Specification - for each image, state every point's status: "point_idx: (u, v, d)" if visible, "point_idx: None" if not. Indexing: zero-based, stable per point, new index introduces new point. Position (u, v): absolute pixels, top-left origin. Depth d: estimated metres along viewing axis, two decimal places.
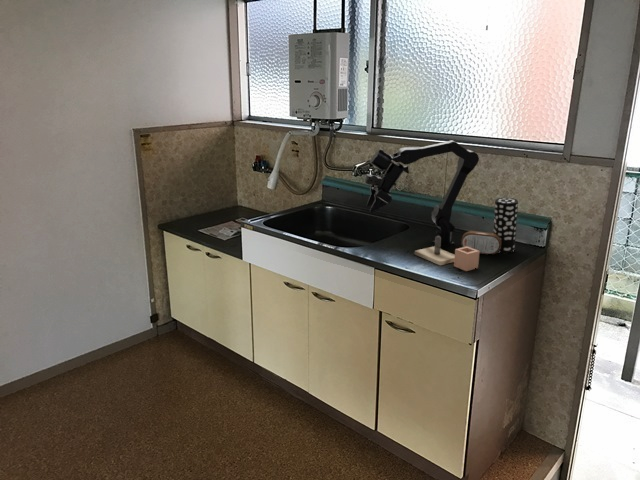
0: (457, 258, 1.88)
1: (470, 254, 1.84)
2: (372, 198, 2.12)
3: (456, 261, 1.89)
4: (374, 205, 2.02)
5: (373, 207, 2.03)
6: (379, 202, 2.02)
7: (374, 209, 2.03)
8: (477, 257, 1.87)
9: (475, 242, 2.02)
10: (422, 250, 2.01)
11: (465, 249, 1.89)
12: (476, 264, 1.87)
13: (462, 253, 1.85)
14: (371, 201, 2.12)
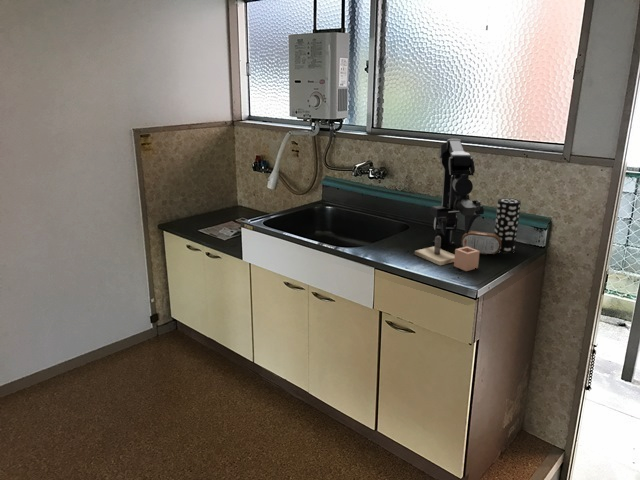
0: (457, 258, 1.88)
1: (470, 254, 1.84)
2: None
3: (456, 261, 1.89)
4: None
5: None
6: None
7: None
8: (477, 257, 1.87)
9: (475, 242, 2.02)
10: (422, 250, 2.01)
11: (465, 249, 1.89)
12: (476, 264, 1.87)
13: (462, 253, 1.85)
14: None
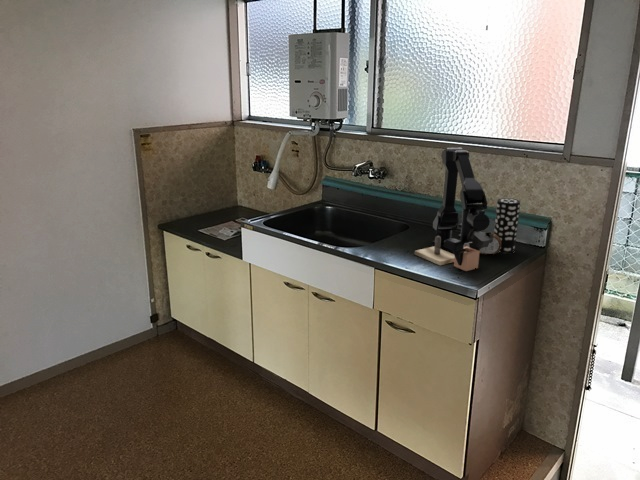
0: None
1: (470, 254, 1.84)
2: None
3: (456, 261, 1.89)
4: None
5: None
6: None
7: None
8: (477, 257, 1.87)
9: None
10: (422, 250, 2.01)
11: None
12: (476, 264, 1.87)
13: None
14: None
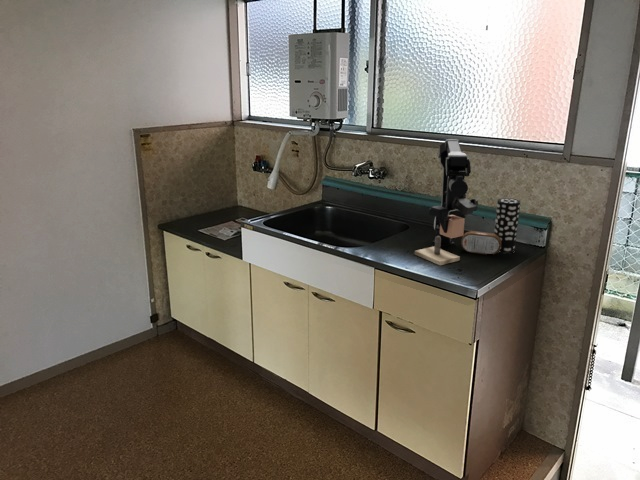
0: None
1: (455, 221, 1.86)
2: None
3: (441, 229, 1.91)
4: None
5: None
6: None
7: None
8: (462, 224, 1.89)
9: (475, 242, 2.02)
10: (422, 250, 2.01)
11: None
12: (461, 231, 1.90)
13: None
14: None
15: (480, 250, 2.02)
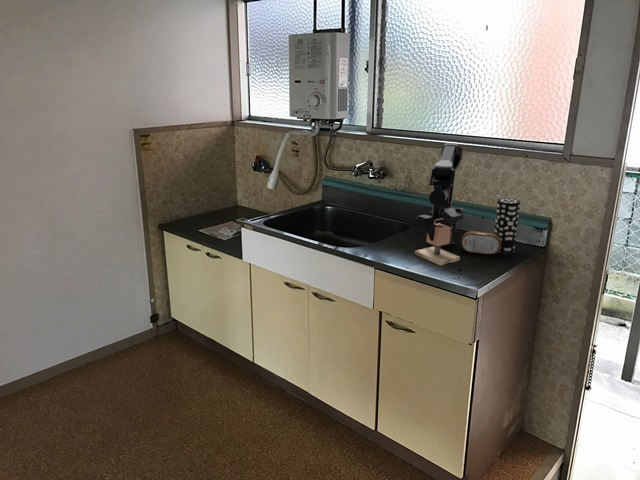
0: None
1: (441, 230, 1.92)
2: None
3: (428, 237, 1.97)
4: None
5: None
6: None
7: None
8: (448, 233, 1.94)
9: (475, 242, 2.02)
10: (422, 250, 2.01)
11: (437, 225, 1.97)
12: (447, 240, 1.95)
13: None
14: None
15: (480, 250, 2.02)
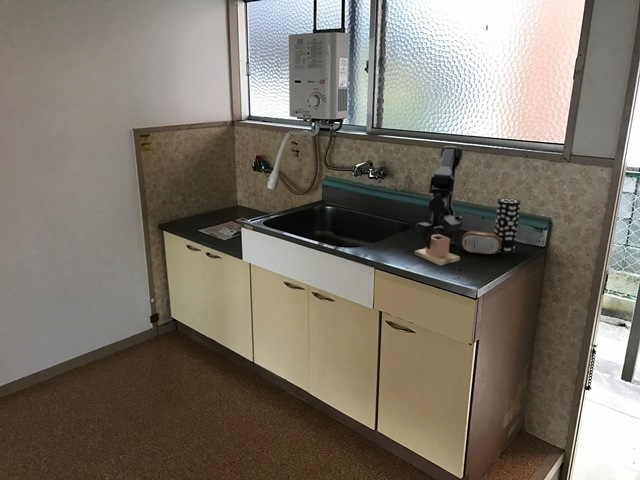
0: None
1: (440, 241, 1.93)
2: None
3: None
4: None
5: None
6: None
7: None
8: (447, 244, 1.96)
9: (475, 242, 2.02)
10: (422, 250, 2.01)
11: None
12: (446, 251, 1.96)
13: (433, 240, 1.95)
14: None
15: (480, 250, 2.02)
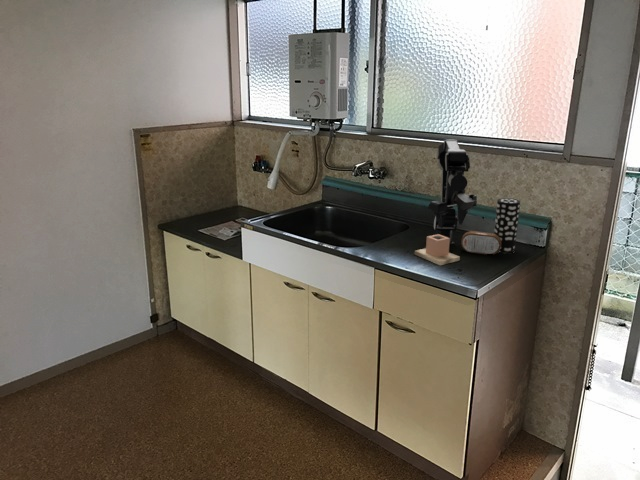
0: (428, 245, 1.97)
1: (440, 241, 1.93)
2: None
3: (427, 248, 1.98)
4: None
5: None
6: None
7: None
8: (447, 244, 1.96)
9: (475, 242, 2.02)
10: (422, 250, 2.01)
11: None
12: (446, 251, 1.96)
13: (433, 240, 1.95)
14: None
15: (480, 250, 2.02)
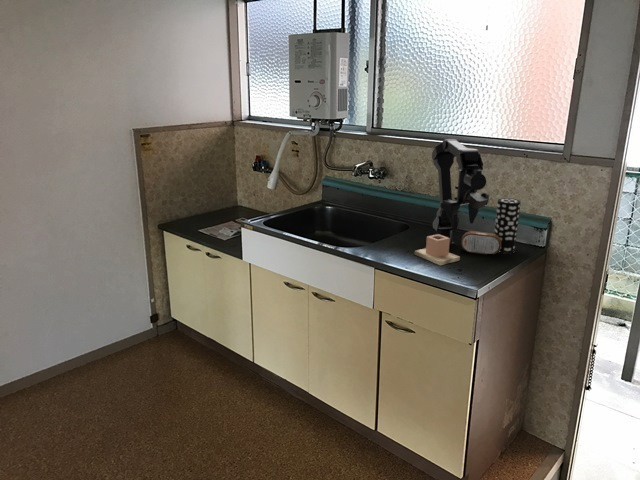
0: (428, 245, 1.97)
1: (440, 241, 1.93)
2: None
3: (427, 248, 1.98)
4: None
5: None
6: None
7: None
8: (447, 244, 1.96)
9: (475, 242, 2.02)
10: (422, 250, 2.01)
11: None
12: (446, 251, 1.96)
13: (433, 240, 1.95)
14: None
15: (480, 250, 2.02)
